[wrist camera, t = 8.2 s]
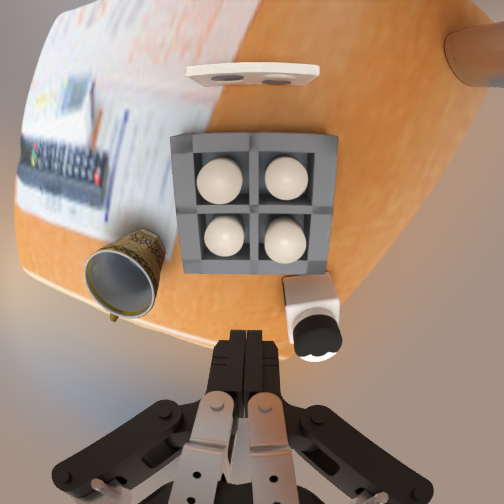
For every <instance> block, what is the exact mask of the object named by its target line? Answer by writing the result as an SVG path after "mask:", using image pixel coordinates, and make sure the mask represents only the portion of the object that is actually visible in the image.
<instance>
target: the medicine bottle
mask: <svg viewBox="0 0 504 504" xmlns="http://www.w3.org/2000/svg"><path fill="white" fill-rule="evenodd" d="M282 285H283V293H284V301H285V310H286V318H287V326H288V335H289V342H290V343H291V344H294V349H295V353H296V354H297V355H298V356H299V357H300V358H302V359H304V360H306V361H311V362H318V361H323V360H326V359H328V358H330V357H332V356H333V355H335V354H336V353H337V352H338V350H339V349H340V347H341V345H342V336H341V333H340V330H339V306H340V299H339V296H338V294H337V291H336V289H335V286H334V283H333V281H332V278H331V276H330V273H329V272H325V274H306V275H298V276H291V277H284V278H283V279H282Z"/></svg>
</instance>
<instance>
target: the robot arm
mask: <svg viewBox="0 0 504 504" xmlns="http://www.w3.org/2000/svg"><path fill="white" fill-rule="evenodd" d="M445 54H446V58H447V61H448V63H449V65H450V67H451V69H452V71H453V72H454V74H455V75H456V76H457V77H458V78H459V79H460V80H461V81H462V82H463V83H465V84H466V85H469V86H473V87H501V88H504V22H498V23H493V24H487V25H483V26H478V27H474V28H469V29H465V30H461V31H457V32H454V33H451V34H449V35H448V36H447V38H446V40H445ZM212 357H213V358H212V362H211V368H210V374H209V380H208V385H207V390H206V393H205V395H204V396H203V397H202V398H201V399H200V400H199V401H197V402H194V403H191V404H185V405H180V406H179V405H178V404H177V403H175V402H174V401H171V400H160V401H158V402H156V403H154V404H153V405H151V406H150V407H148V408H147V409H145V410H144V411H143V412H141V413H139V414H138V415H136V416H135V417H134V418H132V419H131V420H129V421H128V422H126V423H124V424H123V425H121V426H120V427H118V428H117V429H115V430H114V431H112V432H111V433H109V434H108V435H106V436H105V437H103V438H101V439H99V440H98V441H96V442H95V443H93V444H91V445H90V446H88V447H87V448H85V449H83V450H81V451H80V452H78V453H76V454H74V455H73V456H71V457H69V458H68V459H66V460H64V461H62V462H60V463H59V464H57V465H56V466H55V467H54V468H53V470H52V480H53V482H54V484H55V485H56V487H57V488H59V489H60V490H62V491H64V492H66V493H68V494H69V495H71V496H72V497H73V498H74V500H75V501H76V503H77V504H130V502H131V499H132V496H131V492H130V490H131V489H133V488H134V487H136V486H137V485H139V484H140V483H142V482H143V481H145V480H146V479H148V478H149V477H151V476H152V475H153V474H155V473H156V472H158V471H159V470H160V469H162V468H163V467H164V466H166V465H167V464H169V463H170V462H171V461H173V460H174V459H175V458H176V457H178V456H179V455H181V457H180V461H179V465H178V468H177V472H176V476H175V479H174V481H172V482H169V483H167V484H165V485H163V486H161V487H160V488H159V489H157V490H156V491H155V492H154V493H152V494H151V495H149V496H148V497H147V498H146V499H144V500H142V501H141V502H140V503H138V504H325V503H324V502H323V501H321V500H320V499H319V498H318V497H317V496H316V495H315V494H313V493H312V492H310V491H309V490H307V489H305V488H303V487H300V486H298V485H296V478H295V471H294V465H293V458H292V451H291V449H294V450H295V451H296V452H297V453H298V454H299V455H300V456H301V457H302V458H303V459H304V460H305V461H307V462H308V463H309V464H310V465H311V466H312V467H313V468H315V469H316V470H317V471H318V472H319V473H320V474H321V475H323V476H324V477H325V478H326V479H327V480H329V481H330V482H331V483H332V484H334V485H335V486H336V487H337V488H339V489H340V490H341V491H342V492H344V493H345V494H346V495H347V496H349V497H350V498H351V499H352V500H351V501H350V503H349V504H428V503H429V502H430V500H431V499H432V496H433V493H434V489H433V485H432V483H431V482H430V481H429V480H427V479H426V478H424V477H422V476H421V475H419V474H418V473H416V472H415V471H413V470H412V469H410V468H408V467H407V466H406V465H404V464H403V463H401V462H400V461H398V460H397V459H396V458H394V457H393V456H391V455H390V454H388V453H387V452H386V451H384V450H383V449H381V448H380V447H379V446H377V445H376V444H374V443H373V442H372V441H370V440H369V439H368V438H367V437H365V436H364V435H362V434H361V433H360V432H359V431H357V430H356V429H355V428H353V427H352V426H351V425H349V424H348V423H347V422H345V421H344V420H343V419H342V418H341V417H339V416H338V415H337V414H336V413H334V412H333V411H332V410H331V409H329V408H327V407H326V406H322V405H314V406H310V407H308V408H306V409H303V408H299V407H295V406H292V405H290V404H288V403H287V402H286V401H285V400H284V399H283V398H282V396H281V392H280V376H279V359H278V348H277V346H276V345H275V343H274V342H273V341H262V330H247V340H246V330H231V331H230V339H229V340H219V342H218V343H217V344H216V346H215V347H214V350H213V356H212ZM244 409H245V418H248V424H249V445H250V464H251V481H252V482H251V483H246V484H240V485H234V484H230V481H231V468H232V461H233V455H234V448H235V442H236V436H237V430H238V420H239V418H243V417H244Z"/></svg>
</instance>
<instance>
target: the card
mask: <svg viewBox="0 0 504 504" xmlns="http://www.w3.org/2000/svg"><path fill="white" fill-rule="evenodd" d="M318 76H319V65H310V64H297V63H276V62H240V63H219V64H206V65H196V66H187V67H186V77H188V78H190V79H192V80H194V81H195V82H197V83H199V84H201V85H202V86H204V87H208V86H223V85H292V86H305V85H306V84H308V83H309V82H311V81H312V80H313V79H315V78H316V77H318Z"/></svg>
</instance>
